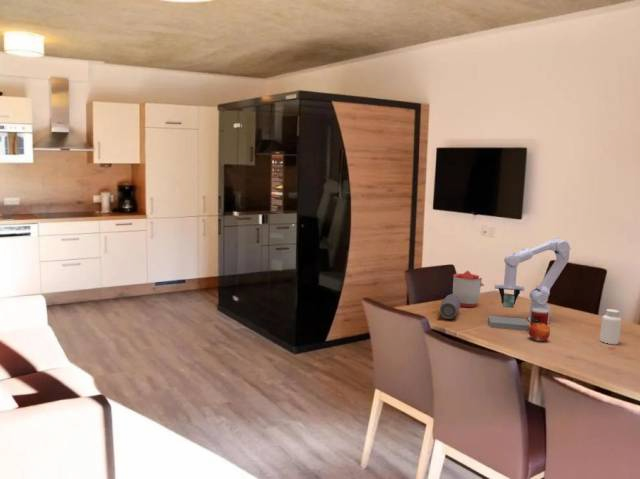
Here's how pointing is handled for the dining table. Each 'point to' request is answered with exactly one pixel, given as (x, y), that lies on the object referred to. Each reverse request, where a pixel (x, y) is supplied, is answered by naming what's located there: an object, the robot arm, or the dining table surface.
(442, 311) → the bluetooth speaker
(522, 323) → the base board
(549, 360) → the dining table surface
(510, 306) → the teal block
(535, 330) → the tomato
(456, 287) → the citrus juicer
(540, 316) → the canned food
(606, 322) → the pill bottle
